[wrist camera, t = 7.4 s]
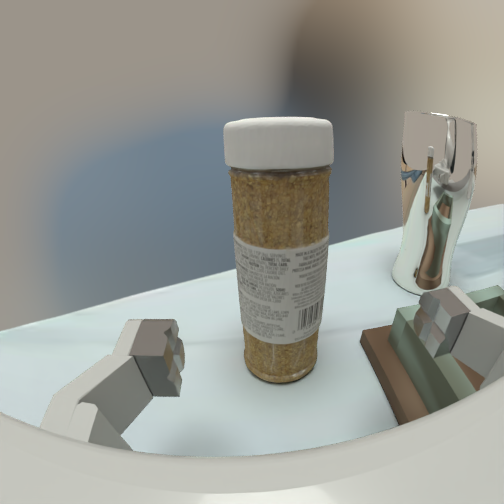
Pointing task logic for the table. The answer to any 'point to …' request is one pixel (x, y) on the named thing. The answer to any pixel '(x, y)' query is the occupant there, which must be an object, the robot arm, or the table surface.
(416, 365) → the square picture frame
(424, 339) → the robot arm
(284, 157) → the sprinkles bottle
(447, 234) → the beer glass
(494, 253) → the table surface
